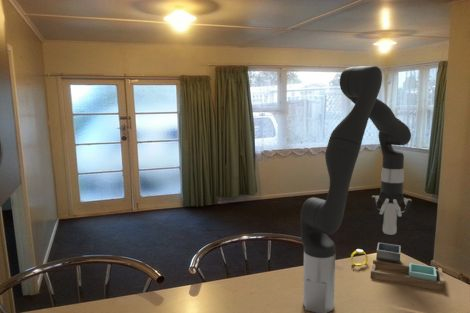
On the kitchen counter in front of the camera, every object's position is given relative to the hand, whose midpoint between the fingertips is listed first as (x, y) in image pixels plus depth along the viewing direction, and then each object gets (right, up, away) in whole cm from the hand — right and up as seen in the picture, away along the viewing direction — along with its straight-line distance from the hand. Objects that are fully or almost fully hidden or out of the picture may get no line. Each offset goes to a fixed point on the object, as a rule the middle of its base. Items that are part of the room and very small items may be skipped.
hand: (389, 224), depth 131 cm
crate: (+6, -17, -11) cm, 21 cm away
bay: (+1, -17, -9) cm, 20 cm away
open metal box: (0, -16, +2) cm, 16 cm away
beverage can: (0, -4, +1) cm, 4 cm away
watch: (-11, -16, +2) cm, 20 cm away
